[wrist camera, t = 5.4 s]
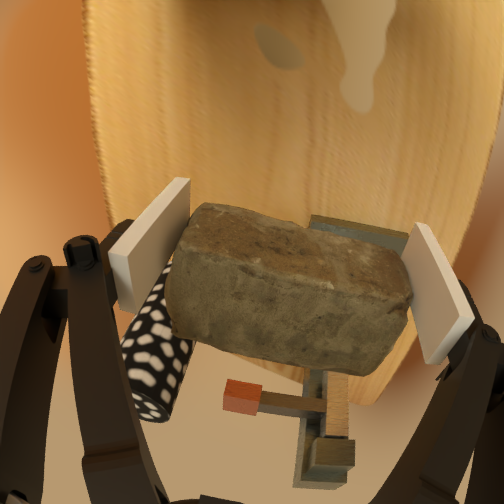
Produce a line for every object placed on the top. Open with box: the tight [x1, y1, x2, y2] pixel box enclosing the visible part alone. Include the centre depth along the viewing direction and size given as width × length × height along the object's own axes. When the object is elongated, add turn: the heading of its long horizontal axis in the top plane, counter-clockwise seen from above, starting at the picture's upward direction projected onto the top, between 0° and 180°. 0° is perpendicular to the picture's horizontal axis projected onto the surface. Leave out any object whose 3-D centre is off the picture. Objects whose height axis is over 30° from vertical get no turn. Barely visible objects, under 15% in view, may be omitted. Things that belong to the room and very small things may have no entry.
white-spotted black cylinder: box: [120, 261, 196, 423], centre depth 37 cm, size 8×8×20 cm
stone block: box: [164, 203, 414, 377], centre depth 15 cm, size 6×12×5 cm, turn 80°
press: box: [293, 215, 409, 490], centre depth 31 cm, size 20×12×24 cm, turn 175°
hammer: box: [223, 370, 349, 439], centre depth 31 cm, size 4×13×9 cm, turn 85°
